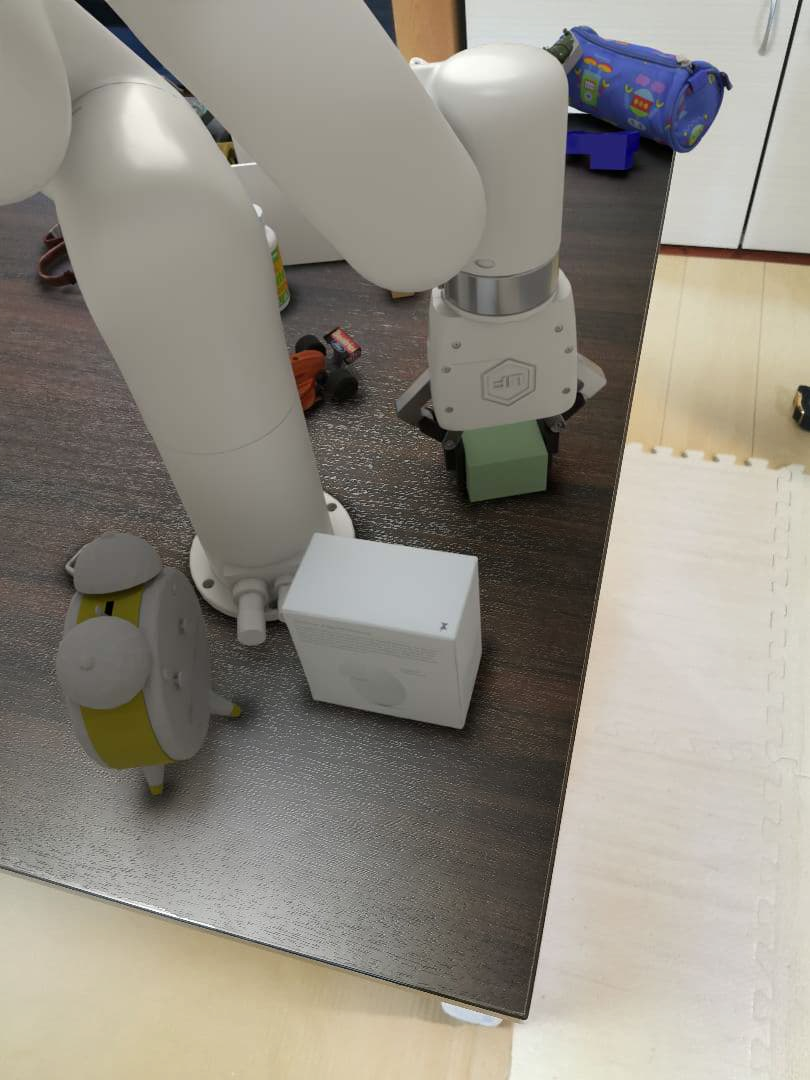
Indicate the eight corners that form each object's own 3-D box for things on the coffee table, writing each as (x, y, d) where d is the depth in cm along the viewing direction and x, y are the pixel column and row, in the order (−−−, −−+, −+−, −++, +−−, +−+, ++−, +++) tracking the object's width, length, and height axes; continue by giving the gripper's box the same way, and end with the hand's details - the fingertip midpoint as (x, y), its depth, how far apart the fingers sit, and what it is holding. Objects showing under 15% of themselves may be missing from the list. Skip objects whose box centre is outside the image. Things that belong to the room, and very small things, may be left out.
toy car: (174, 419, 75) (159, 381, 71) (334, 344, 79) (327, 305, 76) (210, 470, 70) (195, 432, 67) (377, 387, 75) (371, 348, 71)
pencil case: (727, 136, 96) (740, 48, 88) (676, 171, 94) (684, 83, 86) (586, 84, 108) (587, 2, 100) (537, 113, 106) (534, 32, 98)
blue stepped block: (624, 170, 92) (637, 165, 95) (627, 134, 90) (640, 131, 93) (556, 167, 96) (571, 163, 99) (558, 133, 94) (572, 130, 97)
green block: (546, 490, 66) (548, 454, 62) (470, 502, 66) (468, 467, 62) (528, 437, 69) (530, 401, 66) (457, 449, 69) (455, 413, 66)
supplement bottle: (282, 320, 83) (259, 230, 75) (230, 318, 84) (203, 229, 76) (297, 288, 86) (277, 199, 78) (247, 286, 87) (223, 197, 79)
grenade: (455, 109, 100) (562, 17, 94) (469, 128, 103) (573, 40, 98) (471, 135, 98) (581, 42, 93) (485, 153, 102) (591, 65, 97)
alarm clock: (150, 651, 60) (64, 514, 48) (245, 639, 59) (181, 499, 48) (131, 811, 52) (23, 695, 41) (239, 798, 52) (162, 678, 40)
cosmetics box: (484, 646, 57) (480, 552, 49) (463, 731, 53) (456, 645, 45) (339, 620, 60) (313, 526, 52) (310, 700, 56) (276, 612, 48)
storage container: (346, 259, 88) (329, 156, 79) (243, 269, 89) (215, 168, 80) (351, 144, 104) (337, 48, 95) (264, 153, 104) (242, 59, 96)
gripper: (370, 325, 51) (400, 517, 65) (652, 280, 51) (620, 481, 65) (358, 257, 55) (388, 449, 69) (616, 216, 56) (594, 416, 70)
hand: (500, 463), depth 67 cm, fingers closed on green block, 6 cm apart
